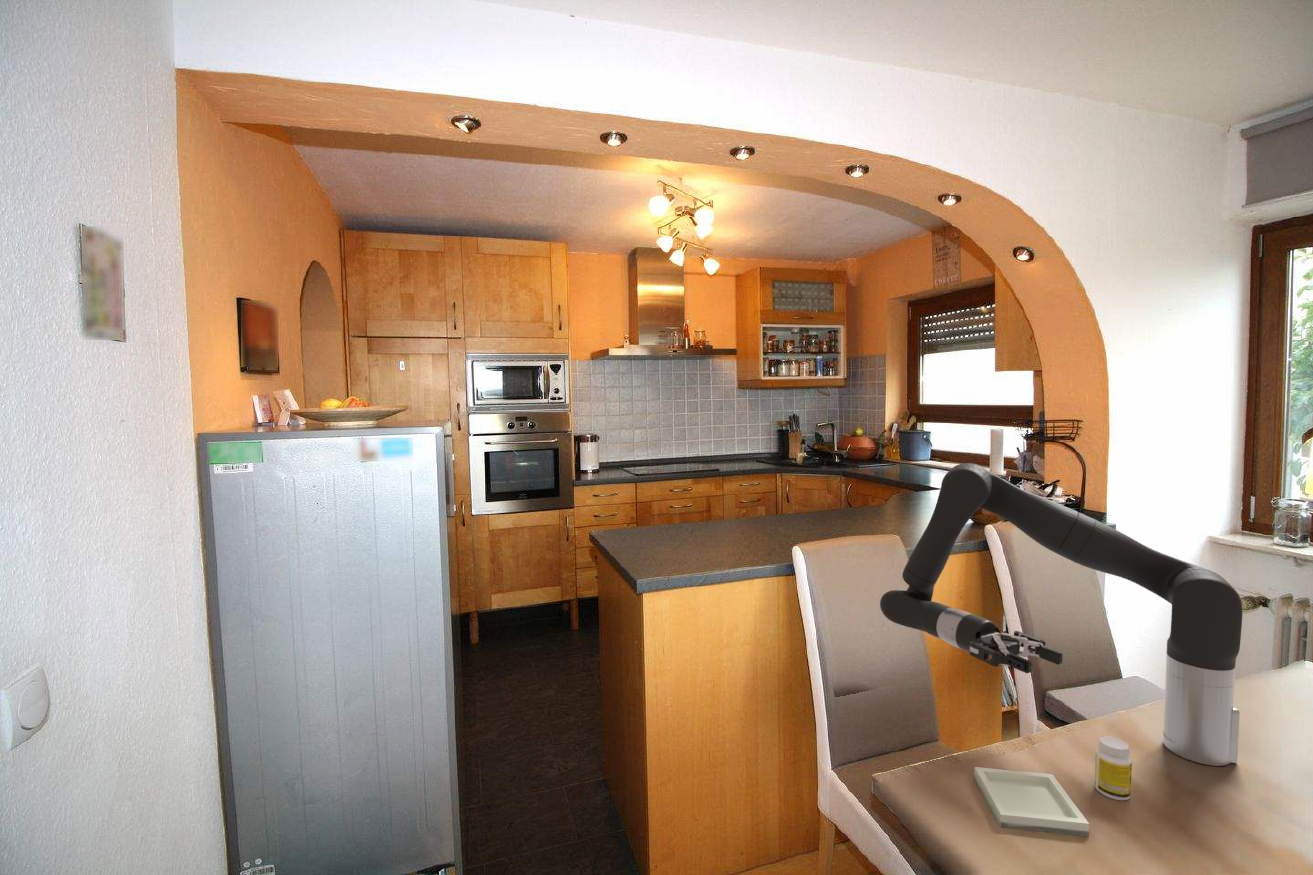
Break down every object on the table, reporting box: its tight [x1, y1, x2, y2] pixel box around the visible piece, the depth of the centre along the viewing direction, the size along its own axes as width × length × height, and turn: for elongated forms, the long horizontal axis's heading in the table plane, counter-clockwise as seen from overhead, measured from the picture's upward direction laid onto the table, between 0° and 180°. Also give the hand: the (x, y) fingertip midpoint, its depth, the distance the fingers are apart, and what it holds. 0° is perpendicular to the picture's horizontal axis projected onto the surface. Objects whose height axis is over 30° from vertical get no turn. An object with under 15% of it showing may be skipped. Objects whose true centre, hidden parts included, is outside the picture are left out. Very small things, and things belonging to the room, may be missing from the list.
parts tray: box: [974, 766, 1090, 838], centre depth 96 cm, size 12×12×2 cm
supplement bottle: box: [1094, 735, 1133, 801], centre depth 99 cm, size 5×5×8 cm
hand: (1046, 663), depth 108 cm, fingers open, 8 cm apart
